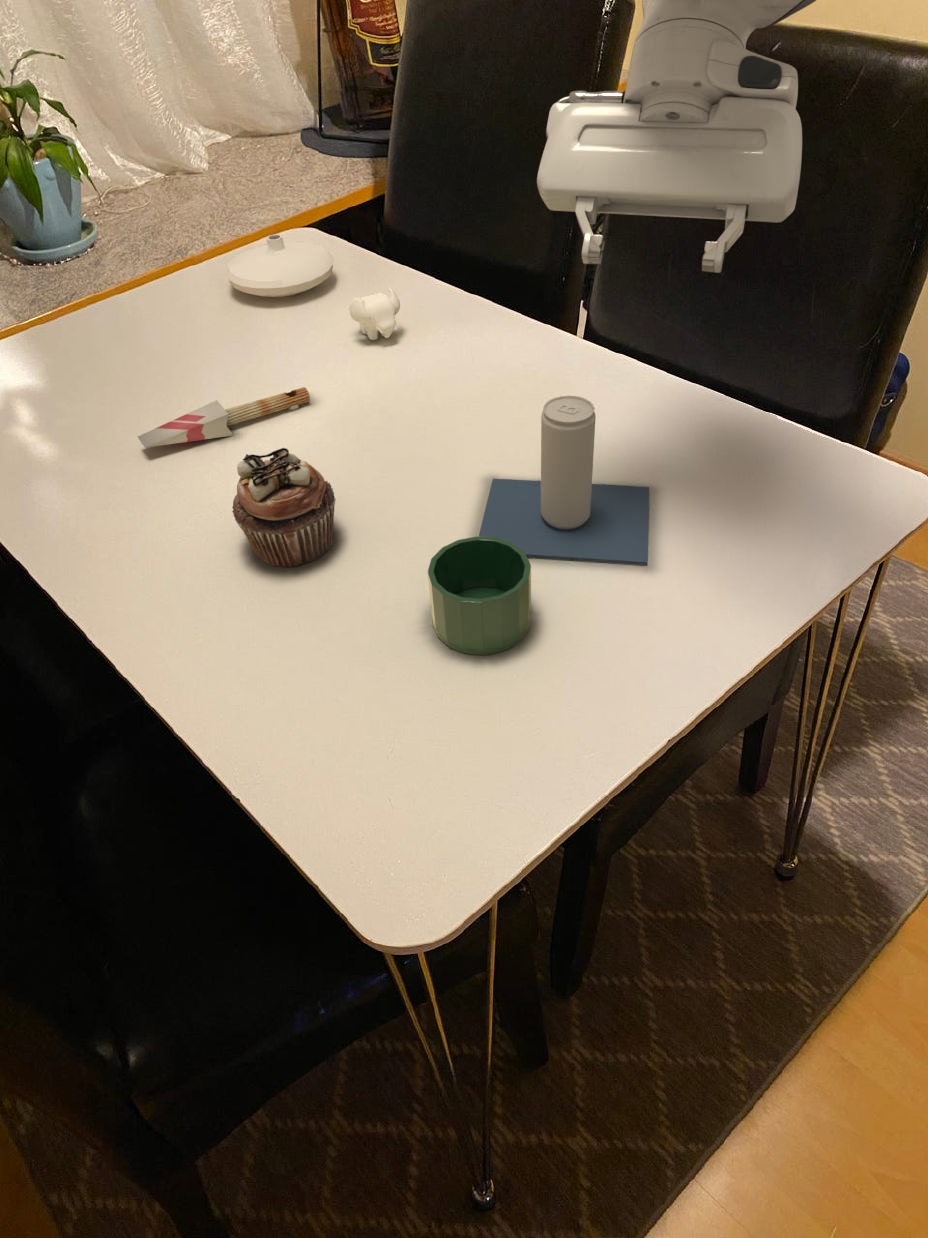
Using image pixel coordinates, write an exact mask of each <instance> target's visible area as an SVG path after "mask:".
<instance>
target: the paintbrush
mask: <svg viewBox="0 0 928 1238" xmlns="http://www.w3.org/2000/svg"><path fill="white" fill-rule="evenodd" d="M310 401H311V396H310V392H309V390H308V389H307V387H305V386H303V387H299V388H296V389H293V390H290V391H288V392H282V393H278V394H274V395H271V396H268V397H265V398H261V399H257V400H254V401H251V402H247V403H243V404H241V405H236V406H233V407H229V408H224V407H223V406H222V405H221V403H220V402H219V401H218V400H217V399H216V400H213V401H212V402H209V403H207V404H205V405H203V406H201V407H199V408H197V409H194V410H192V411H190V412H188V413H186V414H183V415H180V416H179V417H177V418H175V419H173V420H172V419H171V420H169V421H168V422H166V423H164V424H162V425H158V426H157V427H155V428H153V429H150V430H149V431H146V432H144V433H142V434H140V435H138V436H137V439H138V440H139V441H140V443H141V445H142V446H143V448H146V449H147V448H152V447H160V446H166V445H174V444H180V443H187V442H196V441H203V440H210V439H218V438H223V437H224V438H225V437H231V436H232V437H233V436H234V434H233V433H232V431H231V430H230V429H229V427H228V426H231V425H236V424H238V423H241V422H245V421H248V420H253V419H256V418H259V417H263V416H266V415H270V414H273V413H275V412H280V411H283V410H286V409H290V408H292V407H294V406H300V405H303V404H307V403H310Z"/></svg>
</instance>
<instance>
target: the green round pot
mask: <svg viewBox="0 0 928 1238" xmlns="http://www.w3.org/2000/svg"><path fill="white" fill-rule="evenodd" d="M427 568H428V569H427V579H428V589H429V598H430V599H429V600H430V609H431V619H432V622H433V628H434V632H435V633H436V635H437V637H438V638H439V640H440V641H441V642H442V643H443V644H445V645H446V646H447V647H449V648H451V649H452V650H453V651H457V652H459V653H462V654H467V655H473V656H474V655H475V656H481V655H482V656H484V655H485V656H487V655H493V654H498V653H501V652H504V651H507V650H508V649H510V648H512V647H514V646H515V645H517V644H518V643H520V642H521V641H522V640H523V638H524V637H525V636H526V634H527V633H528V631H529V629H530V625H531V614H532V565H531V563H530V560H529V557H527V556H526V553H525V552H523V551H522V550H521V549H520V548H518V547H517V546H516V545H515V544H513V543H511V542H508V541H505V540H502V539H499V538H495V537H479V535H477V536H472V537H466V538H460V539H458V540H455V541H453V542H451V543H449V544H446V545H445V546H443V547H441V548H440V549H439V550H438V552H436V553H435V554H434V555H433V556H432V558H431V559H430V562H429V566H428V567H427Z"/></svg>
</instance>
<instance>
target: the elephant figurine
mask: <svg viewBox="0 0 928 1238" xmlns="http://www.w3.org/2000/svg"><path fill="white" fill-rule="evenodd" d="M388 292H389V293H390V297H389V296H387V295H386V294H384V293H383V292H376V293H373V294H370V295H366V296H363V297H358V296H357V297H356V296H355V297H354V298H352V300H351V301H350V304H349V315H350V317H351V319H352V320H354V321H355V322H356V323H359V324H358V325H359V327H360V330H361V333H362V334H363V335H367V338H368V339H369V340H370V341H375V340H376V341H377V339H379V333H380V335H381V336H382V337H384V338H385V339H389V338H390V337H391V336H392V333H393V331H394V330H395V331H397V321H396V317H395V316H397V315H398V313H399V312H400V308H401V303H400V299H399V296H398V294H397V293H396V292H395V291H394V289H393V288H392V287H389V288H388Z"/></svg>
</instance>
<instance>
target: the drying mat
mask: <svg viewBox="0 0 928 1238" xmlns="http://www.w3.org/2000/svg"><path fill="white" fill-rule="evenodd" d="M649 512H650V486H642V485H641V486H640V485H622V484H607V483H605V484H603V483H592V490H591V508H590V516H589V518H588V520H587V521H586V522H585V523H583V524H582V525H581V526H579V527H577V528H574V529H569V530H562V529H557V528H554V527H552V526H551V525H549V524H548V523H547V522H546V521H545V520H544V518H543V517H542V515H541V480H531V479H530V480H527V479H511V478H492V481H491V484H490V488H489V493H488V496H487V501H486V504H485V509H484V513H483V518H482V522H481V525H480V530H479V533H478V536H479V537H495V538H499V539H502V540H505V541H508V542H511V543H513V544H515V545H516V546H517V547H518V548H520V549H521V550H522V551H523V552H525V553H526V556H527V558H528V559H529V558H531V559H545V560H560V561H562V560H563V561H574V562H575V561H576V562H577V561H578V562H592V563H605V564H619V565H620V564H622V565H636V566H647V565H648V555H649V551H648V550H649V547H648V546H649V521H650V520H649V518H650V517H649V516H650V515H649V514H650V513H649Z"/></svg>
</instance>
